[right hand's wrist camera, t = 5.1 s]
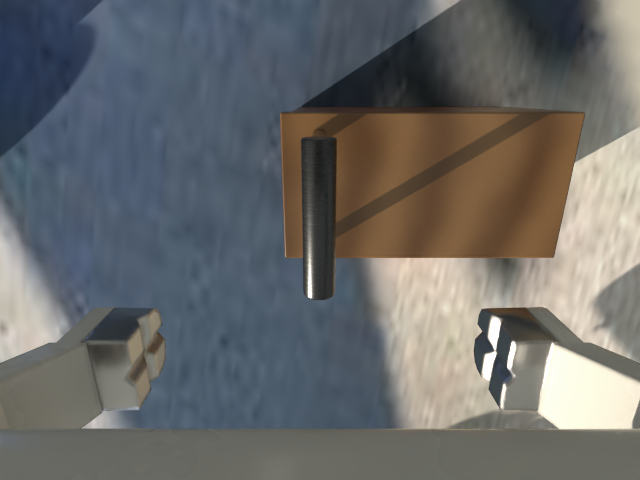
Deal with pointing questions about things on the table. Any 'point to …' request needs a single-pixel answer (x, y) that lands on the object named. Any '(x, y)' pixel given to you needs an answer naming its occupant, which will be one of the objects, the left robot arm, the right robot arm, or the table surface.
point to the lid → (423, 186)
